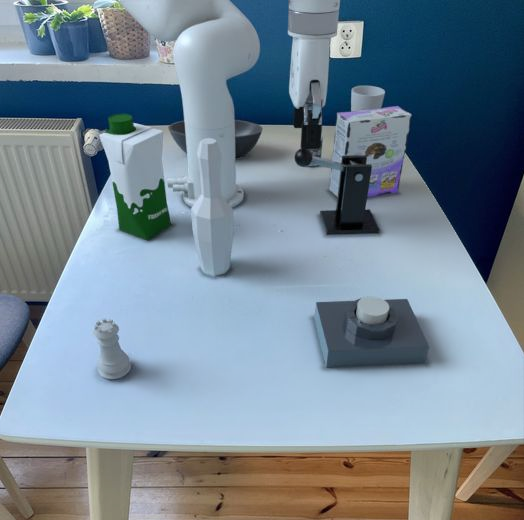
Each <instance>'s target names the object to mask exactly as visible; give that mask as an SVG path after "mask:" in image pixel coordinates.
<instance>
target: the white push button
mask: <svg viewBox="0 0 524 520" xmlns="http://www.w3.org/2000/svg"><path fill="white" fill-rule="evenodd" d="M361 298H362V299H360V298H359V299H360V300H359V301H358V304H357V310H356V316H357V318H358V319H359V320H360V321H362V322H364V323H367V324H371V325H375V324H382V323H384V322H385V321H386V320H387V317H388V313H389V305H388V303H387V302H386V301H385V300H386V299H383V298H381V297H377V296H373V295H372V296H365V297H361Z"/></svg>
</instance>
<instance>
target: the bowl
mask: <svg viewBox="0 0 524 520" xmlns="http://www.w3.org/2000/svg"><path fill="white" fill-rule="evenodd" d="M167 129H168V131H169V134H170V136H171V137H172V140H174V142H175V144H176V145H177V146H178V147H179V149H180V150H181V151H183V152H184V153H185V154H186V155H187V146H186V134H185V122H184V120H181V121H176V122H172V123H171V124H169V125H168V127H167ZM263 130H264V128H263V127H262V126H261V124H258V123H255V122H251V121H247V120H240V119H235V160H238V159H242V158H245V157H246V156H247V155H248V154H249V153H250V152H251V151H253V149H254V148H255V146H256V145H257V143H258V142H259V139H260V138H261V135H262V132H263Z"/></svg>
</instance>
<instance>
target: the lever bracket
mask: <svg viewBox="0 0 524 520" xmlns="http://www.w3.org/2000/svg"><path fill="white" fill-rule="evenodd" d="M350 160H351V161H355V162H359V163H363V164H359V165H348V164H349V161H350ZM366 161H367V156H366V155H351V156H342V162H341V163H343V164H346V173H345V172H344V171H340V179H339V188H338V196H337V198H336V206H335V209H332V210H331V209H330V210H328V209H327V210H326V209H325V210H319V217H320V220H321V222H322V226H323V229H324V233H325V235H326V236H334V235H335V236H336V235H337V236H339V235H375V234H379V233H380V228H379V226H378V224H377V220H376V219H375V218H374V217H375V216H374V215H373V213H372V212H371V209H370V208H369V209H368V208H367V202H368V197H367V196H368V190H369V183H370V177H371V170H372V166H371V164H366ZM366 208H367V209H366Z"/></svg>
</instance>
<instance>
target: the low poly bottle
mask: <svg viewBox="0 0 524 520" xmlns="http://www.w3.org/2000/svg"><path fill="white" fill-rule="evenodd" d="M197 159H198V165H199V171H200V181H201V195H200V197H199V198H198V200H197V201H196V202H195V204H194V205H193V207H190V213H191V214H190V217H191V227H192V235H193V240H194V244H195V248H196V249H195V250H196V253H197V257H198V261H199V267H200V270H201V271H202V272H203V273H204V274H206V275H209V276H212V277H217V276H219V275H224V274H226V273H227V272H228V270H230V267H231V259H232V253H233V252H232V251H233V244H234V233H235V231H234V230H235V229H234V209H233V207H232V208H231V206H230V205H229V204H228V203H227V201H226V200H225V199H224V198H223V196H222V195H221V182H220V170H221V152H220V149H219V146H218V144H217V141H216V140H215V139H212V138H206V139H202V140H201V141H200V143H199V147H198V151H197Z"/></svg>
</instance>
